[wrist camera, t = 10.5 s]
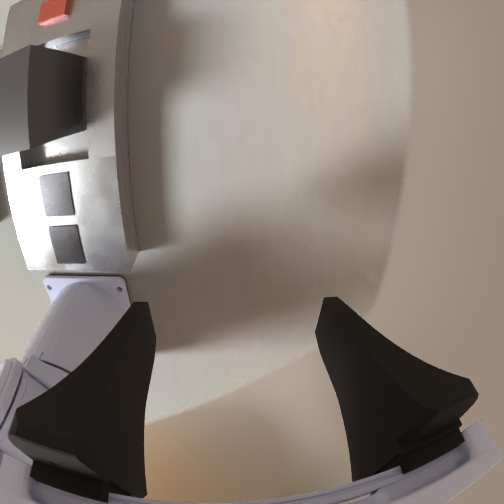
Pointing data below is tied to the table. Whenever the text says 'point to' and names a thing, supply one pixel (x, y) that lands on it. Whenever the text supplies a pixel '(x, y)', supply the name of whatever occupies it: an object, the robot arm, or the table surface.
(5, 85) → the plug
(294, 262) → the table surface
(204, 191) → the table surface
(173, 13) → the table surface
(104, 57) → the power strip
